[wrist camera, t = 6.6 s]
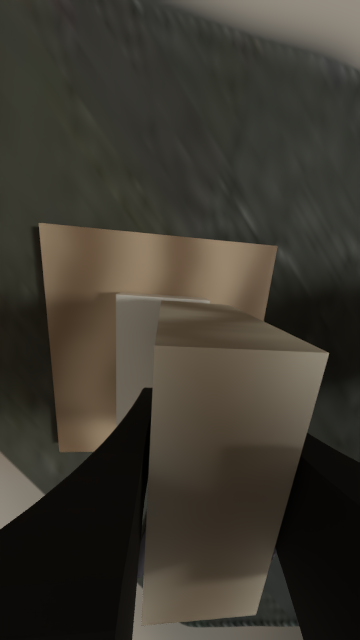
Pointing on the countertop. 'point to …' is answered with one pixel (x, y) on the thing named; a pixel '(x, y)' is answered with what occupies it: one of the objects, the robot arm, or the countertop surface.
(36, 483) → the countertop surface
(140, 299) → the tile
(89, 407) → the cork mat
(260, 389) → the tan mottled block
